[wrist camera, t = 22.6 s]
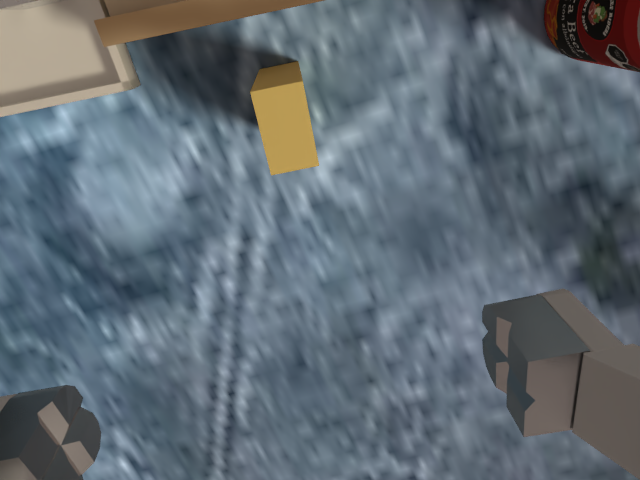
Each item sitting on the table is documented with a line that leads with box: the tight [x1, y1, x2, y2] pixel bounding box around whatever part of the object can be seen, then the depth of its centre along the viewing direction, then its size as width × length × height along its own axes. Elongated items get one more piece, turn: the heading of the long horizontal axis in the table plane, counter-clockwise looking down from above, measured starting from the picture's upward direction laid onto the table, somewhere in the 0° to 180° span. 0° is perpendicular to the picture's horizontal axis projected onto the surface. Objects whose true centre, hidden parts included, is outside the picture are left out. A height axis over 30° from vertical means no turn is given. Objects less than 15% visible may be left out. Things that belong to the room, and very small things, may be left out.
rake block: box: [250, 61, 319, 175], centre depth 30 cm, size 5×3×10 cm, turn 11°
